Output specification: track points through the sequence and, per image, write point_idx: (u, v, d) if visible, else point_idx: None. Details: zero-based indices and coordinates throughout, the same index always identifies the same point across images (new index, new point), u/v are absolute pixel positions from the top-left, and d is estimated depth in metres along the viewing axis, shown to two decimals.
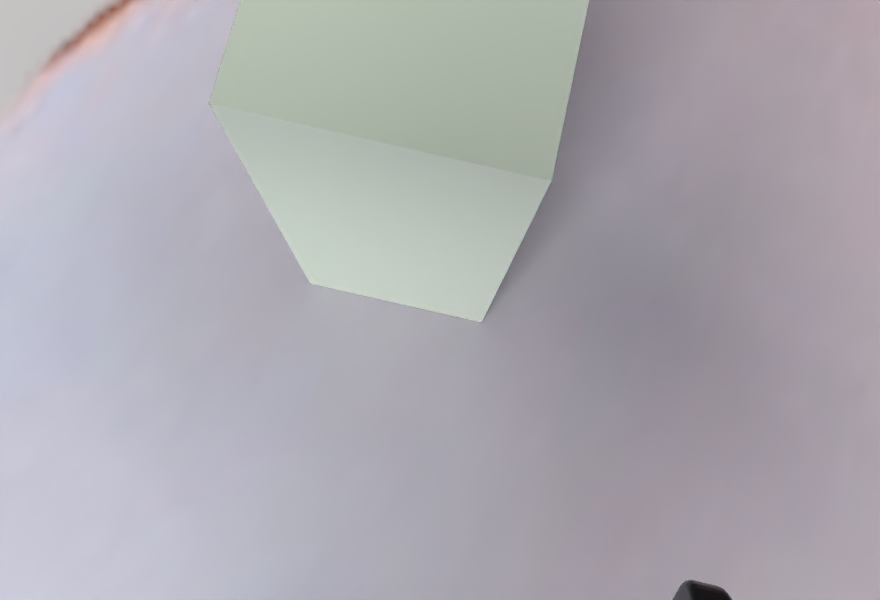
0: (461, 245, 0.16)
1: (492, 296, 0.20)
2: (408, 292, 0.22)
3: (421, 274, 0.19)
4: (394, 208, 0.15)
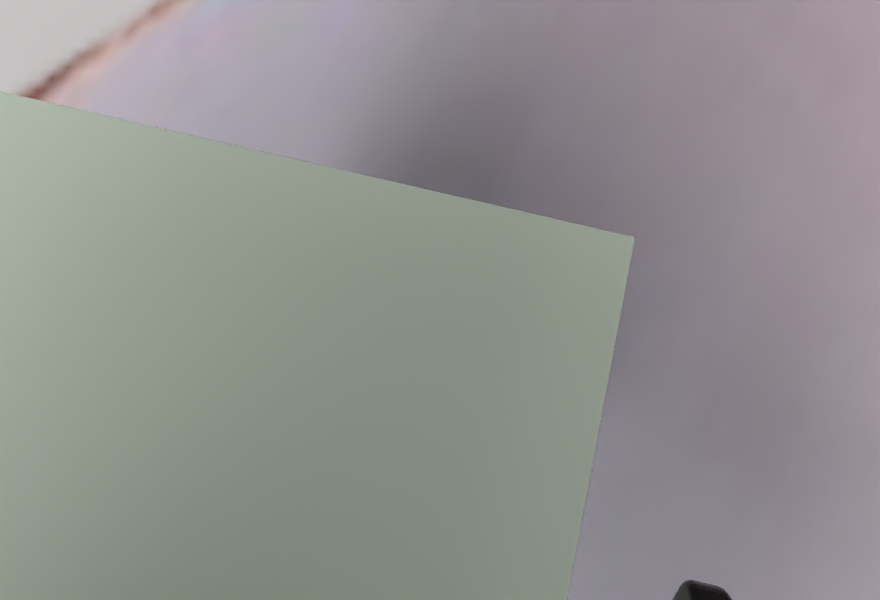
0: None
1: None
2: None
3: None
4: None
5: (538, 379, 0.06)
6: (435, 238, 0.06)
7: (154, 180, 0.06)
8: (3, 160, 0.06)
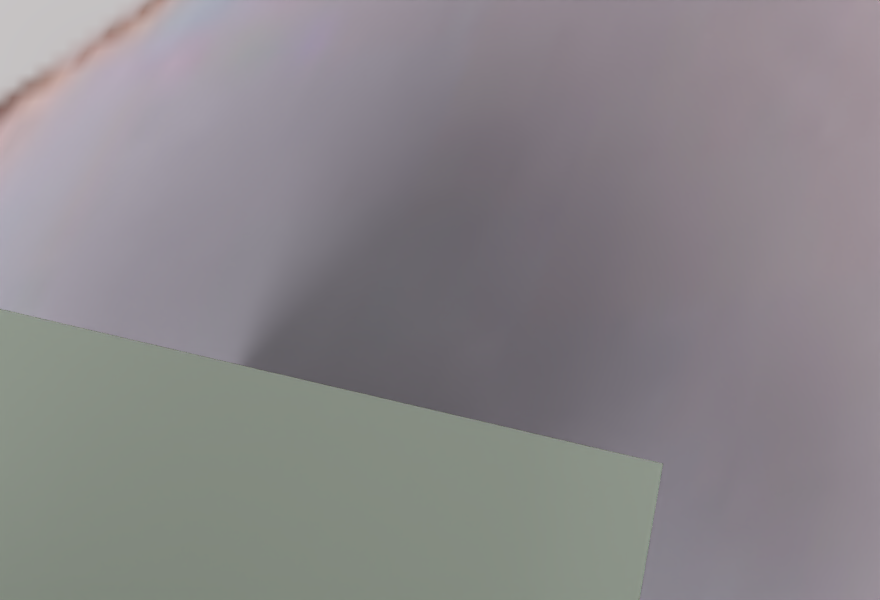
0: None
1: None
2: None
3: None
4: None
5: None
6: (368, 468, 0.04)
7: None
8: None
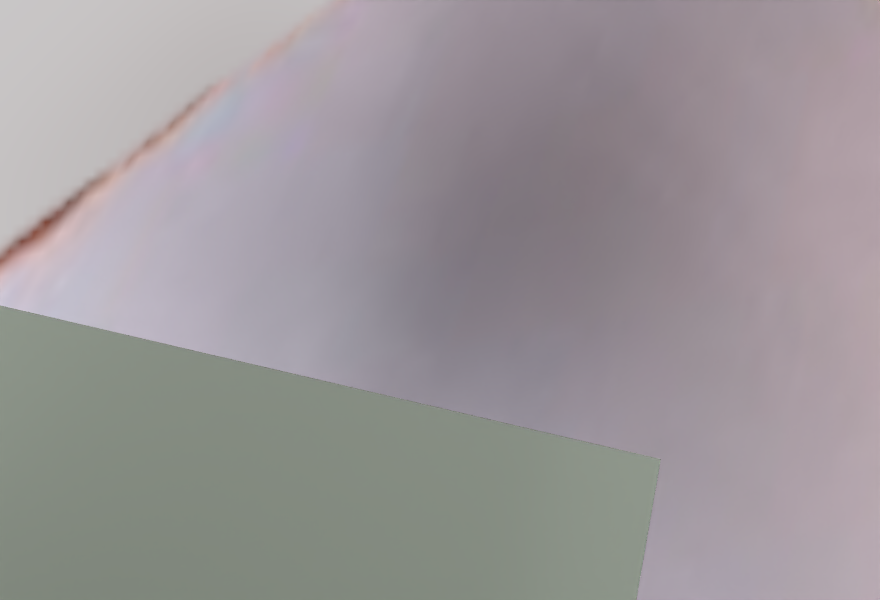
0: None
1: None
2: None
3: None
4: None
5: None
6: (366, 464, 0.04)
7: None
8: None
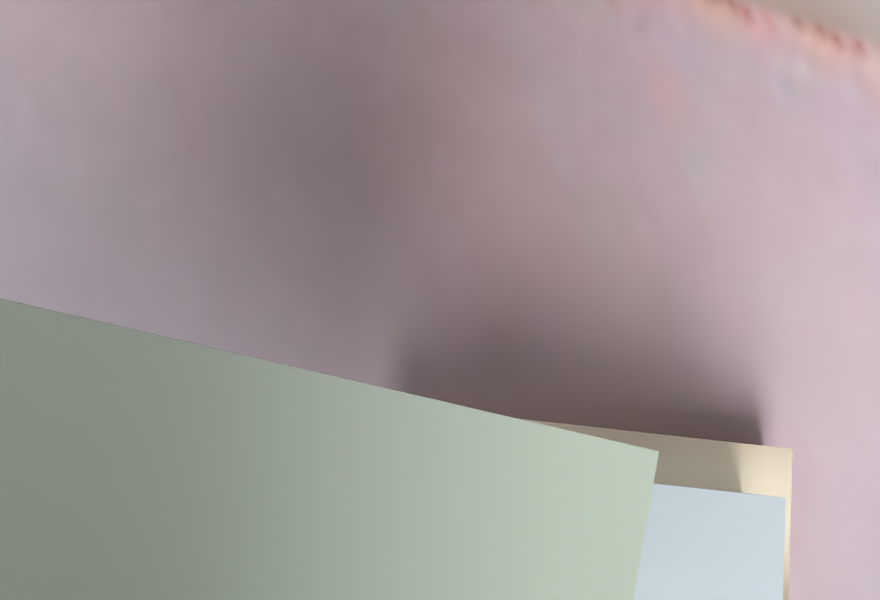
0: None
1: None
2: None
3: None
4: None
5: None
6: (365, 456, 0.04)
7: None
8: None
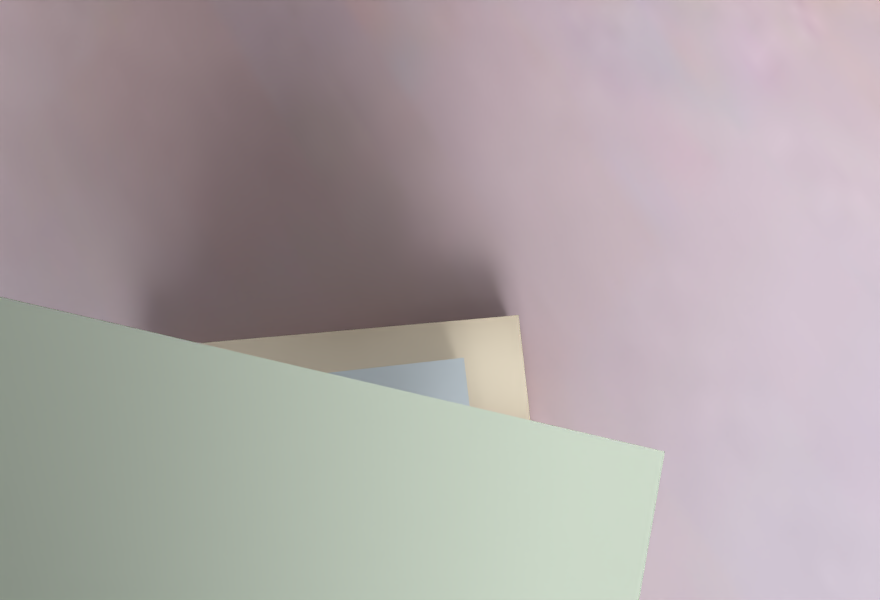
0: None
1: None
2: None
3: None
4: None
5: None
6: (371, 456, 0.04)
7: None
8: None
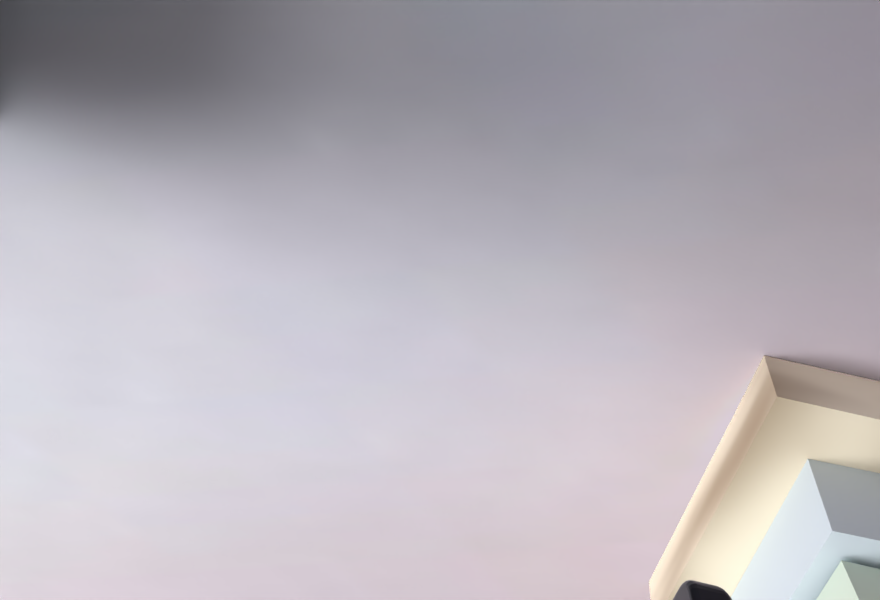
0: None
1: None
2: None
3: None
4: None
5: None
6: None
7: None
8: None
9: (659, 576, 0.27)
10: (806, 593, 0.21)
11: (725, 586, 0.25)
